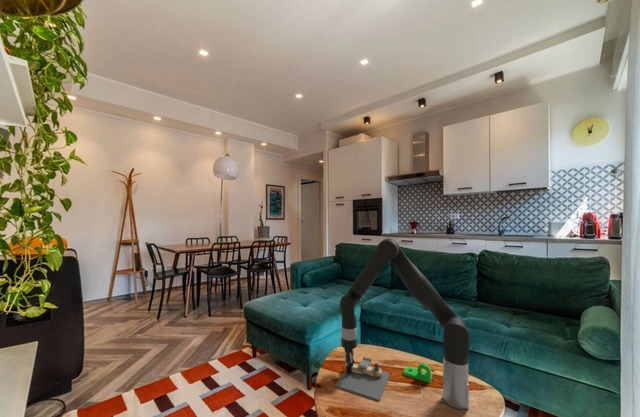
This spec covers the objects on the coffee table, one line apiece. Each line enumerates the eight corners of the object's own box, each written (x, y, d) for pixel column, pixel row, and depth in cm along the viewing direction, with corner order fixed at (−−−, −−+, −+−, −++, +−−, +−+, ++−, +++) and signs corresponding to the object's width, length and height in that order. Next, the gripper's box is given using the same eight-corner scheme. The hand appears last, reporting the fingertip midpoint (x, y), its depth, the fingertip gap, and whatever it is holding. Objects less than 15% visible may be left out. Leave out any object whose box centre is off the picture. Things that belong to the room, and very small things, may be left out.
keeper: (371, 368, 131) (371, 358, 131) (367, 376, 125) (367, 366, 125) (363, 365, 133) (363, 356, 133) (358, 374, 127) (358, 364, 127)
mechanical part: (432, 377, 126) (432, 360, 126) (430, 384, 121) (430, 367, 121) (406, 369, 132) (406, 353, 132) (403, 376, 127) (403, 359, 127)
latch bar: (382, 373, 127) (382, 362, 127) (381, 378, 122) (381, 367, 122) (346, 366, 132) (346, 356, 132) (344, 371, 128) (344, 360, 128)
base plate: (389, 375, 127) (389, 373, 127) (379, 402, 110) (379, 399, 110) (350, 364, 136) (350, 362, 136) (334, 387, 119) (334, 385, 119)
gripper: (359, 342, 120) (359, 381, 120) (354, 329, 133) (353, 364, 133) (343, 342, 119) (343, 381, 119) (339, 330, 133) (339, 365, 132)
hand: (348, 372), depth 126 cm, fingers closed
